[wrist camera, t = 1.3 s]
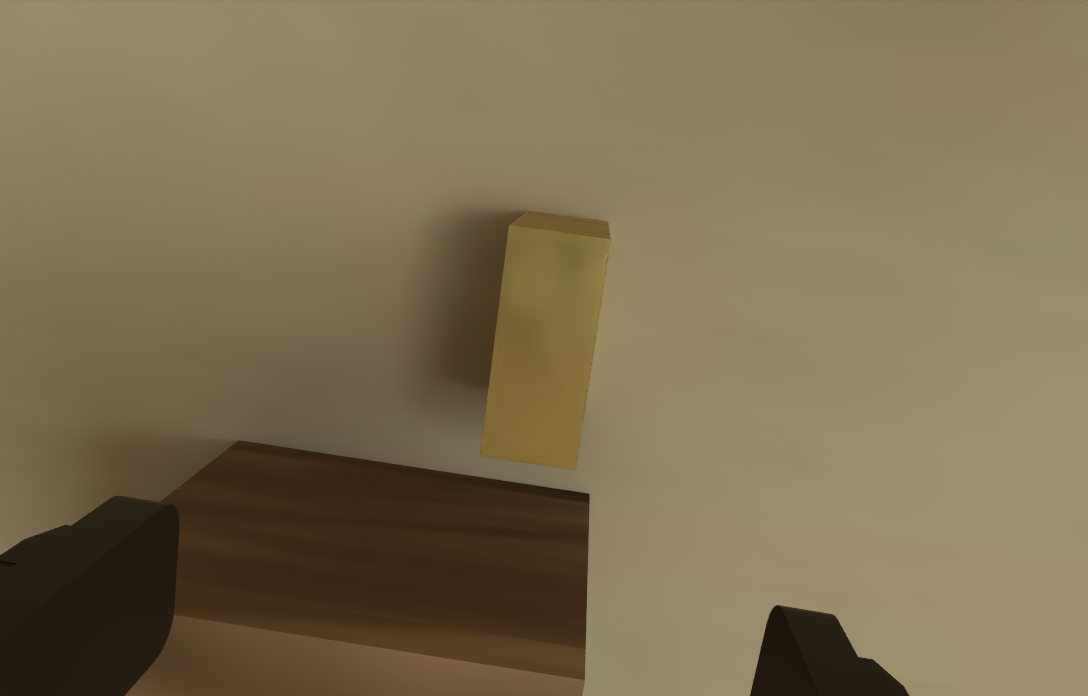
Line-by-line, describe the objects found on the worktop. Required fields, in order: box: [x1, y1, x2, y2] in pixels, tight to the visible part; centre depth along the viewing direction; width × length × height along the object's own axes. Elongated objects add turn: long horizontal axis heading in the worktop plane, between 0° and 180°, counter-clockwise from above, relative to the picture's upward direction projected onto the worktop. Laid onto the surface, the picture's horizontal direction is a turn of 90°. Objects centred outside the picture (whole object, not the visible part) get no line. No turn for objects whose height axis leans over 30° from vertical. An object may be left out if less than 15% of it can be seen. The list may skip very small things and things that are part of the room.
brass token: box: [480, 211, 611, 470], centre depth 24 cm, size 6×2×6 cm, turn 172°
